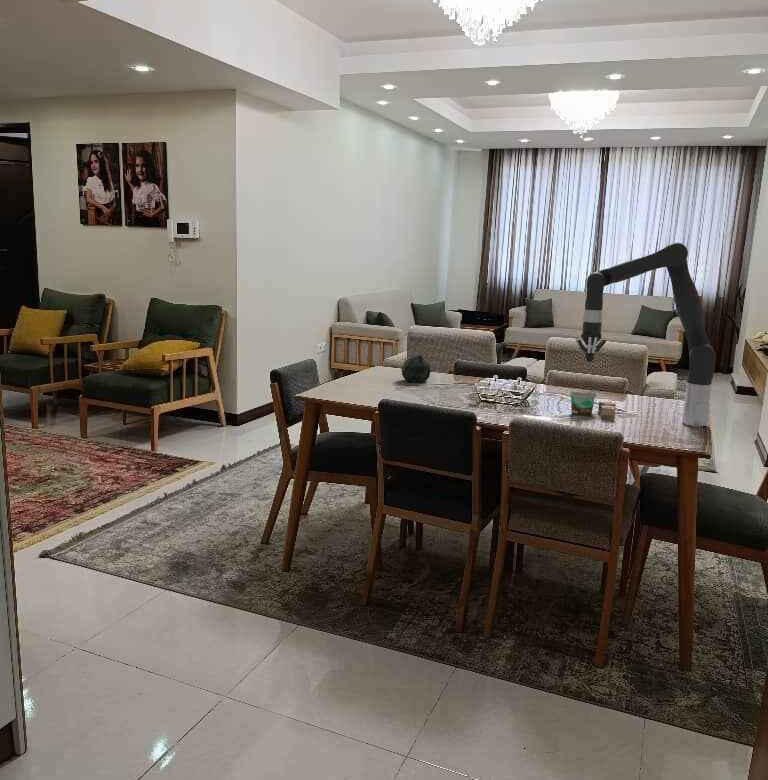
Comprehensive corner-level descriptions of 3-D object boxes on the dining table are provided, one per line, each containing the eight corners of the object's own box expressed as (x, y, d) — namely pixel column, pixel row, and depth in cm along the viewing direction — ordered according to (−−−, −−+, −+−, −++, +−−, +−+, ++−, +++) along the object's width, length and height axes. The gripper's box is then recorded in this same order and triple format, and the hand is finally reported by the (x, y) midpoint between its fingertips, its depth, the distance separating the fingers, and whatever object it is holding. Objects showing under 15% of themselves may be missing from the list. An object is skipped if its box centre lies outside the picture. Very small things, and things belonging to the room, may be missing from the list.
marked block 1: (614, 415, 303) (615, 403, 302) (604, 415, 302) (605, 403, 301) (608, 412, 308) (609, 400, 307) (598, 412, 307) (599, 401, 306)
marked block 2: (614, 420, 294) (615, 408, 293) (601, 419, 295) (602, 407, 294) (612, 417, 299) (613, 405, 298) (600, 416, 300) (601, 404, 299)
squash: (399, 367, 375) (403, 349, 363) (427, 368, 377) (432, 350, 365) (401, 389, 366) (405, 371, 354) (429, 390, 368) (434, 372, 356)
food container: (577, 417, 298) (579, 394, 296) (568, 413, 303) (570, 391, 301) (601, 415, 303) (603, 392, 301) (591, 411, 308) (593, 389, 306)
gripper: (580, 321, 290) (577, 363, 294) (611, 321, 292) (607, 363, 295) (573, 319, 298) (570, 360, 301) (604, 319, 299) (600, 360, 303)
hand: (589, 361), depth 298 cm, fingers closed
